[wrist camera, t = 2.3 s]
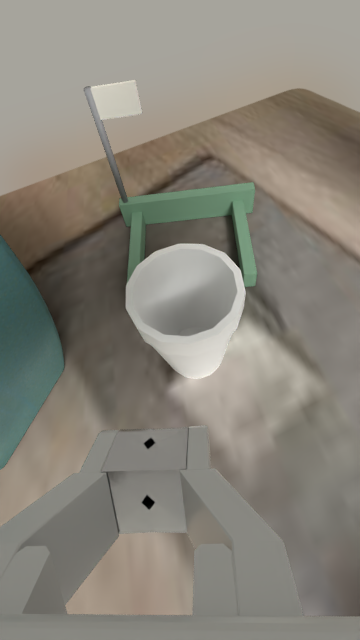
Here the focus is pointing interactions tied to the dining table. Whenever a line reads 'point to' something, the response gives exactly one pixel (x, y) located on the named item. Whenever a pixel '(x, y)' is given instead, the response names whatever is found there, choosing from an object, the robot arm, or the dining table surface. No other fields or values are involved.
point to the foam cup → (187, 305)
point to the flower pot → (23, 352)
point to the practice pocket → (172, 204)
